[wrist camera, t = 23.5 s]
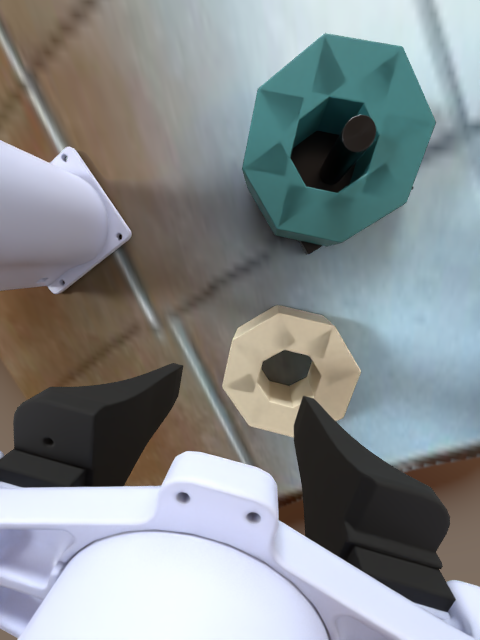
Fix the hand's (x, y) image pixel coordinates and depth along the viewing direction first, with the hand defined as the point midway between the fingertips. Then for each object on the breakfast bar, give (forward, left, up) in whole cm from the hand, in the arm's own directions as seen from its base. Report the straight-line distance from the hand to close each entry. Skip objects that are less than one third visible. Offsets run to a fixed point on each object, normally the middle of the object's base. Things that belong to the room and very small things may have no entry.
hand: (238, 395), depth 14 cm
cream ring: (+2, -3, -8) cm, 8 cm away
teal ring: (+12, +9, -7) cm, 16 cm away
